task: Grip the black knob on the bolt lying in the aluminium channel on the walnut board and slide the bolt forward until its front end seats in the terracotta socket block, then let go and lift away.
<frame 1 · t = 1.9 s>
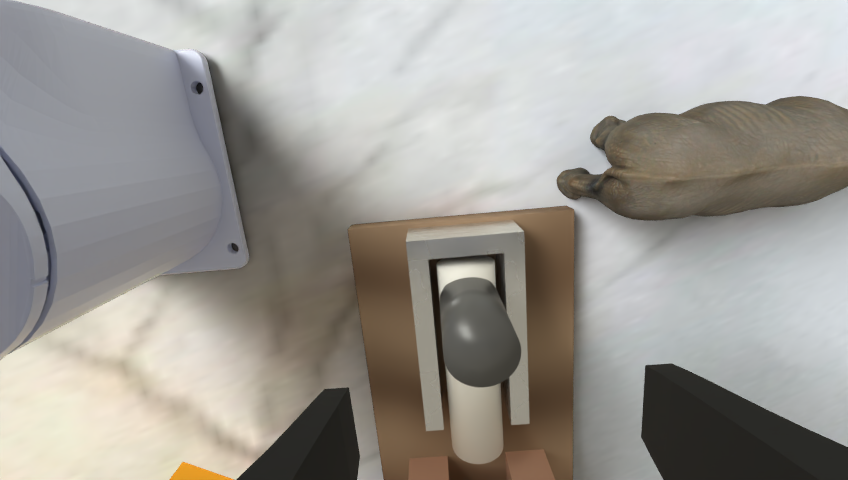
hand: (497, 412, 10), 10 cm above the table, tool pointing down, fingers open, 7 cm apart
channel: (468, 326, 18), on the board, point 2 cm above the table
rhino figurine: (706, 150, 18), on the table
bolt: (476, 383, 16), point 4 cm above the table, slide at 0.0 cm
board: (470, 392, 21), on the table
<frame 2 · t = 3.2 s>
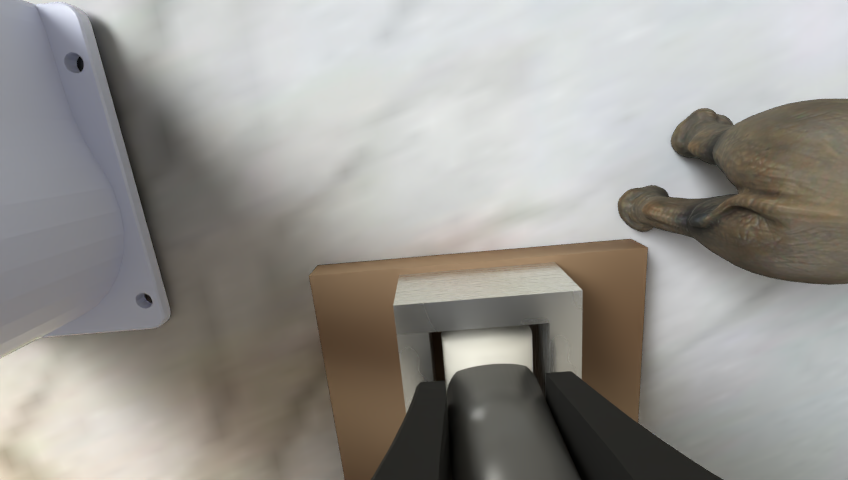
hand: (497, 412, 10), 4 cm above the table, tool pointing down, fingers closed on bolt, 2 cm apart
channel: (489, 419, 12), on the board, point 2 cm above the table
rhino figurine: (838, 161, 12), on the table
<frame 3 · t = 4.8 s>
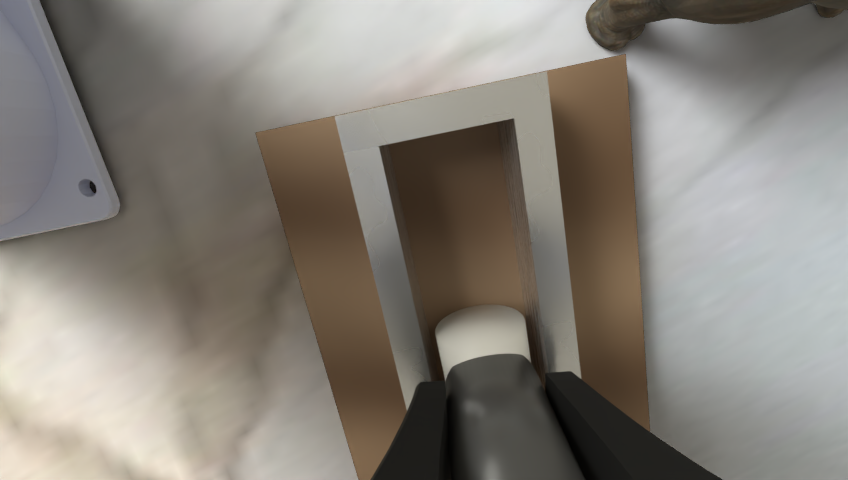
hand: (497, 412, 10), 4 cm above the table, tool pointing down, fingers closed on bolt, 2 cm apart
channel: (468, 269, 11), on the board, point 2 cm above the table
board: (486, 379, 14), on the table
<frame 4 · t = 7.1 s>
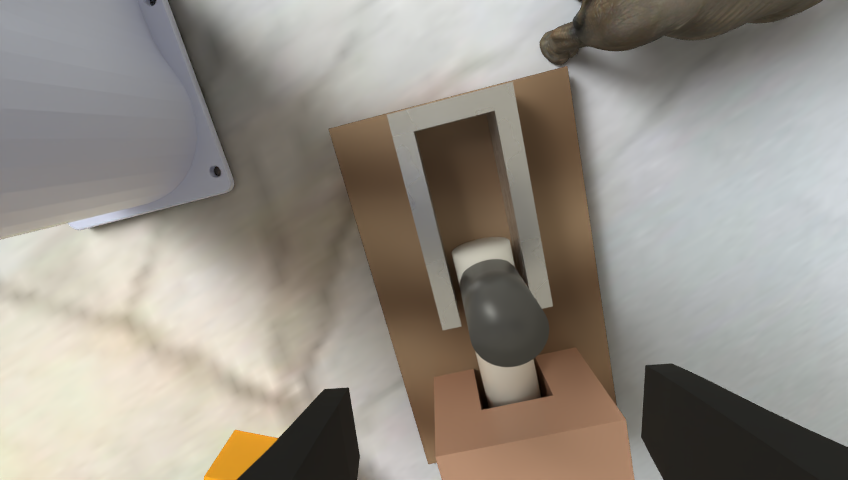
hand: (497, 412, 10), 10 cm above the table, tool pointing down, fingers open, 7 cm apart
channel: (471, 210, 16), on the board, point 2 cm above the table
socket: (524, 438, 17), on the board, point 4 cm above the table
bolt: (509, 365, 16), point 4 cm above the table, slide at 4.6 cm
board: (488, 298, 19), on the table
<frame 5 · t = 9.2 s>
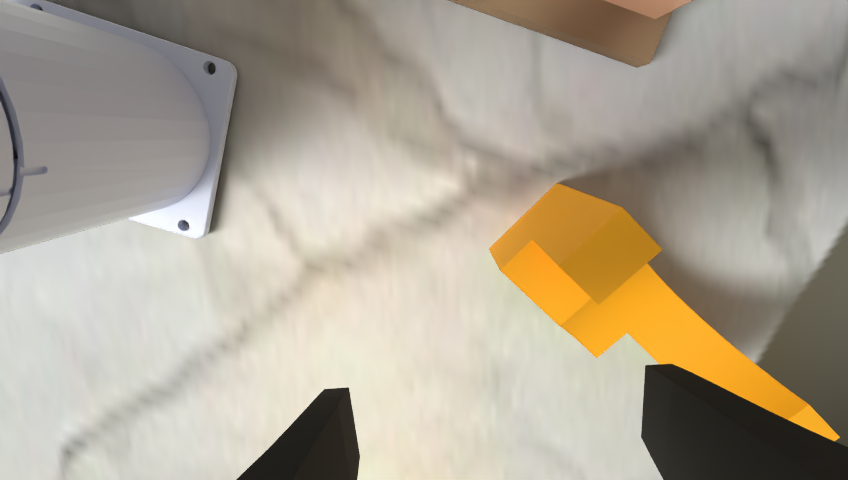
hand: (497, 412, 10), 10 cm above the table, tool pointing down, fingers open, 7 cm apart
orange piece: (602, 295, 20), on the table
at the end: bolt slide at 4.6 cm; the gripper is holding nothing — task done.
